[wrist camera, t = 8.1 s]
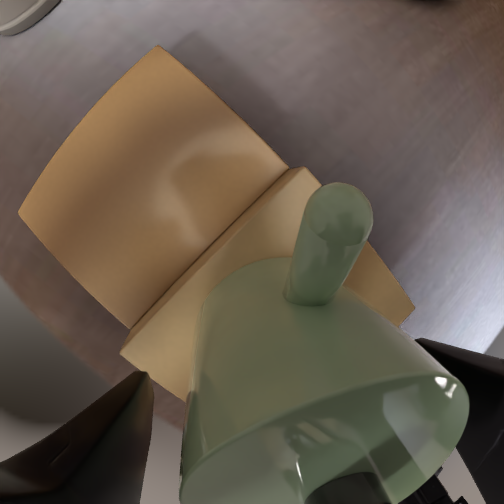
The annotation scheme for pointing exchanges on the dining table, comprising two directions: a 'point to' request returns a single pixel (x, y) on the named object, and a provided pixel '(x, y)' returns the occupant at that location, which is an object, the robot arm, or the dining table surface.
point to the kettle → (312, 380)
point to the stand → (174, 211)
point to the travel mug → (22, 14)
